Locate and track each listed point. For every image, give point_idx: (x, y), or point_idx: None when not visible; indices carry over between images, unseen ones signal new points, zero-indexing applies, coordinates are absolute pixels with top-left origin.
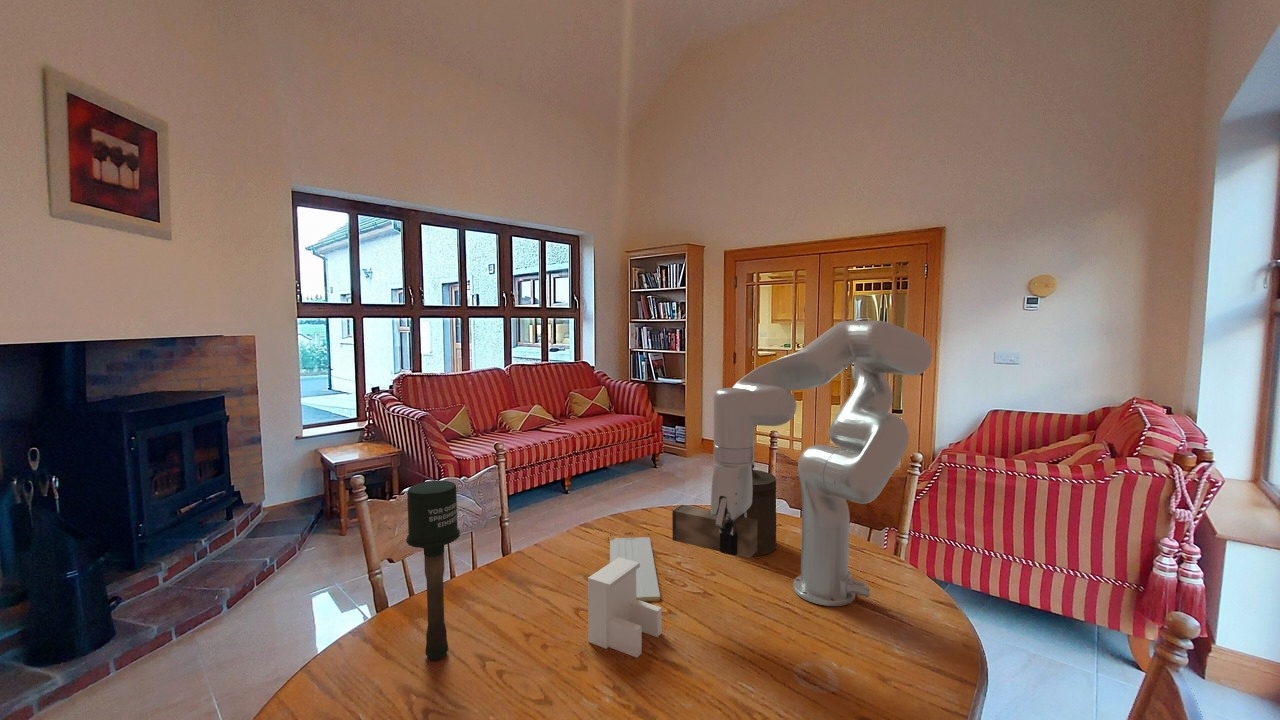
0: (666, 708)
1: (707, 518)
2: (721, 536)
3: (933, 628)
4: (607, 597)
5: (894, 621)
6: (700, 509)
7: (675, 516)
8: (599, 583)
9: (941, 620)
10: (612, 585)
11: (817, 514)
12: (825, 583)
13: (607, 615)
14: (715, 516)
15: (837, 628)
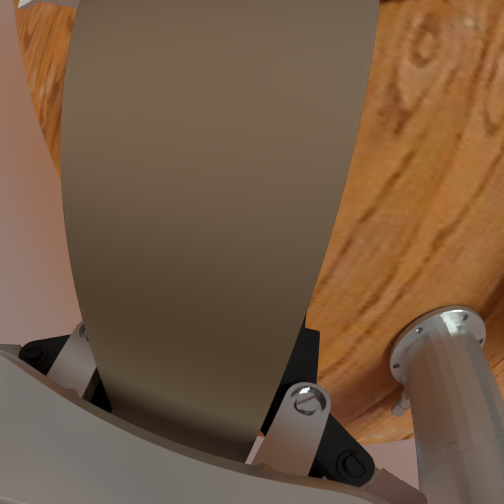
0: (54, 162)
1: (76, 266)
2: None
3: (348, 432)
4: (48, 1)
5: (358, 411)
6: (307, 100)
7: None
8: None
9: (366, 437)
10: (28, 5)
11: (436, 494)
12: (408, 377)
13: (76, 6)
14: (142, 338)
15: (324, 362)
